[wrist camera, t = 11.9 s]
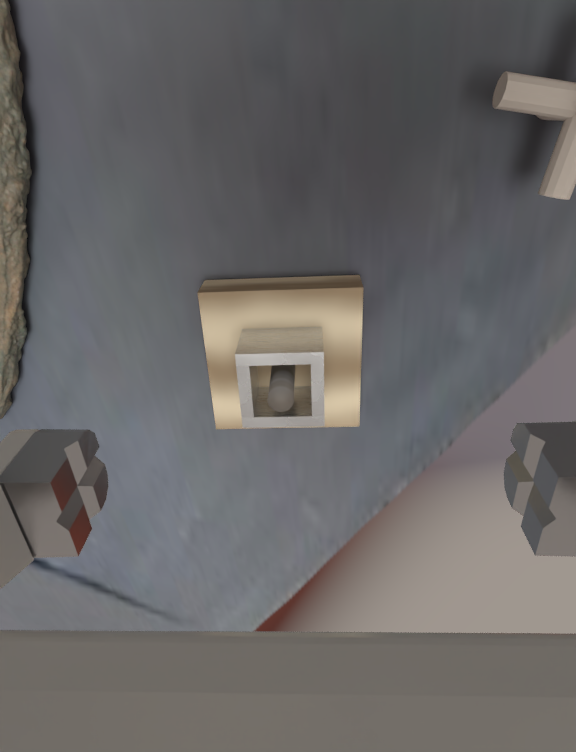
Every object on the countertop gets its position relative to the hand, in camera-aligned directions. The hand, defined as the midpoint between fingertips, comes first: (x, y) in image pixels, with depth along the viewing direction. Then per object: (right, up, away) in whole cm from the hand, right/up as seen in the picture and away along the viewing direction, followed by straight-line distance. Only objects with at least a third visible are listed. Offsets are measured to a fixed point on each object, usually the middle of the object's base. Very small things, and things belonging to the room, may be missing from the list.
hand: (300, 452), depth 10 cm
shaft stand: (-1, +4, +32) cm, 32 cm away
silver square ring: (-1, +2, +29) cm, 29 cm away
